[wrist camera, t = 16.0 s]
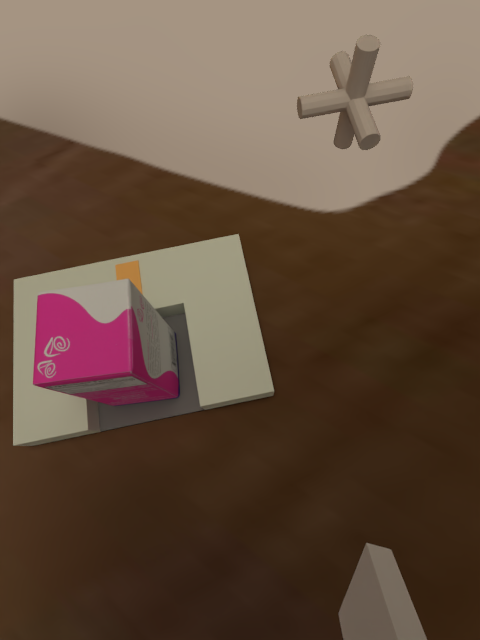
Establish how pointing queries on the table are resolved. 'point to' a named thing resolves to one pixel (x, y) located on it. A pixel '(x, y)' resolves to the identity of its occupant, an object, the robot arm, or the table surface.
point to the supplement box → (104, 345)
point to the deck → (183, 318)
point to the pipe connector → (355, 95)
